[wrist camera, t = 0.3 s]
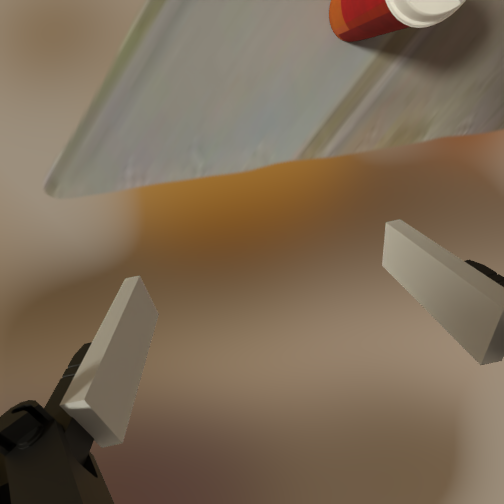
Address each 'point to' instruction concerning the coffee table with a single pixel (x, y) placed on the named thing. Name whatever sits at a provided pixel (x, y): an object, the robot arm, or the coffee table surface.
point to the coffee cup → (386, 16)
